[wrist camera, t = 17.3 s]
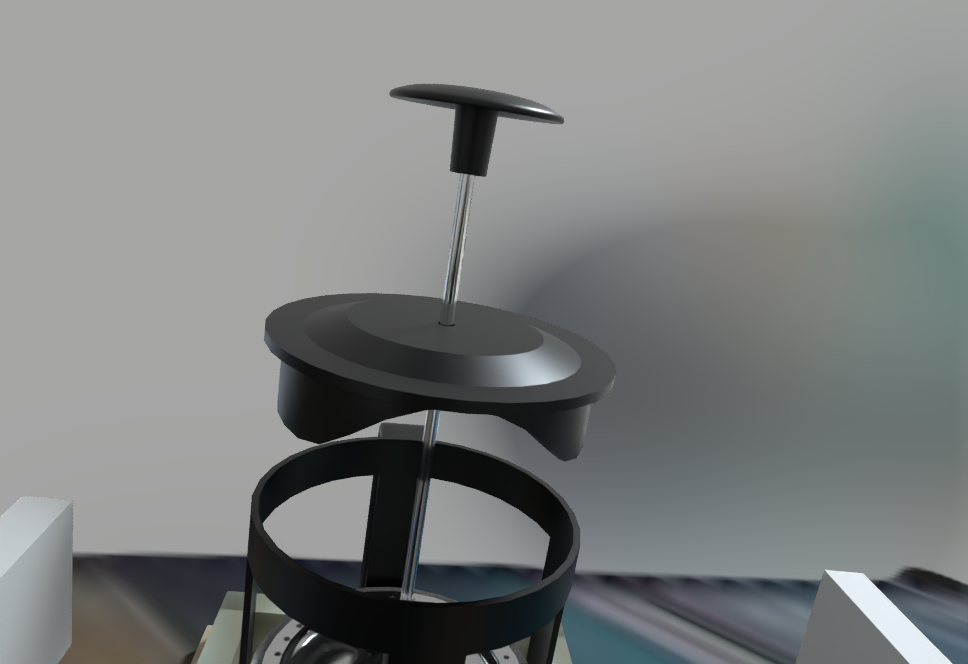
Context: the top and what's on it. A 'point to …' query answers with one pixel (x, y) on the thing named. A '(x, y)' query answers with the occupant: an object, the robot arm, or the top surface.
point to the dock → (223, 639)
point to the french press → (420, 445)
